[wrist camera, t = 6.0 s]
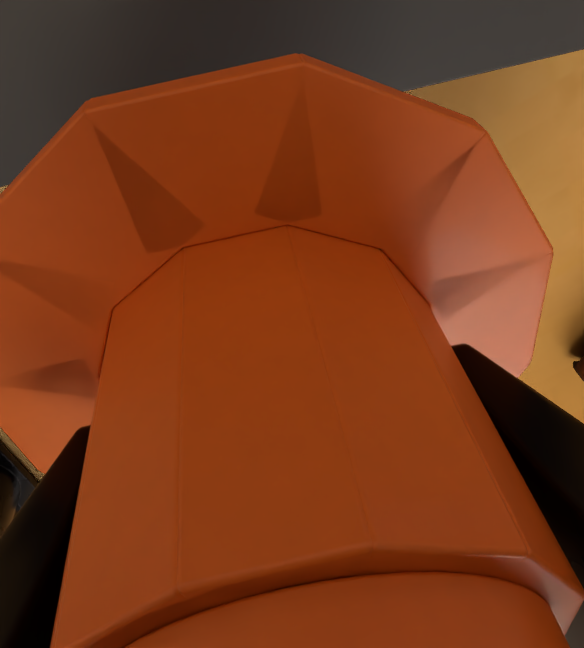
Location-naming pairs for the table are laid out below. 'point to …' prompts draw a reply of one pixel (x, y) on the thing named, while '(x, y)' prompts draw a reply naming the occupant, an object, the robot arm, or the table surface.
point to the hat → (279, 367)
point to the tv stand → (249, 47)
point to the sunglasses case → (579, 367)
